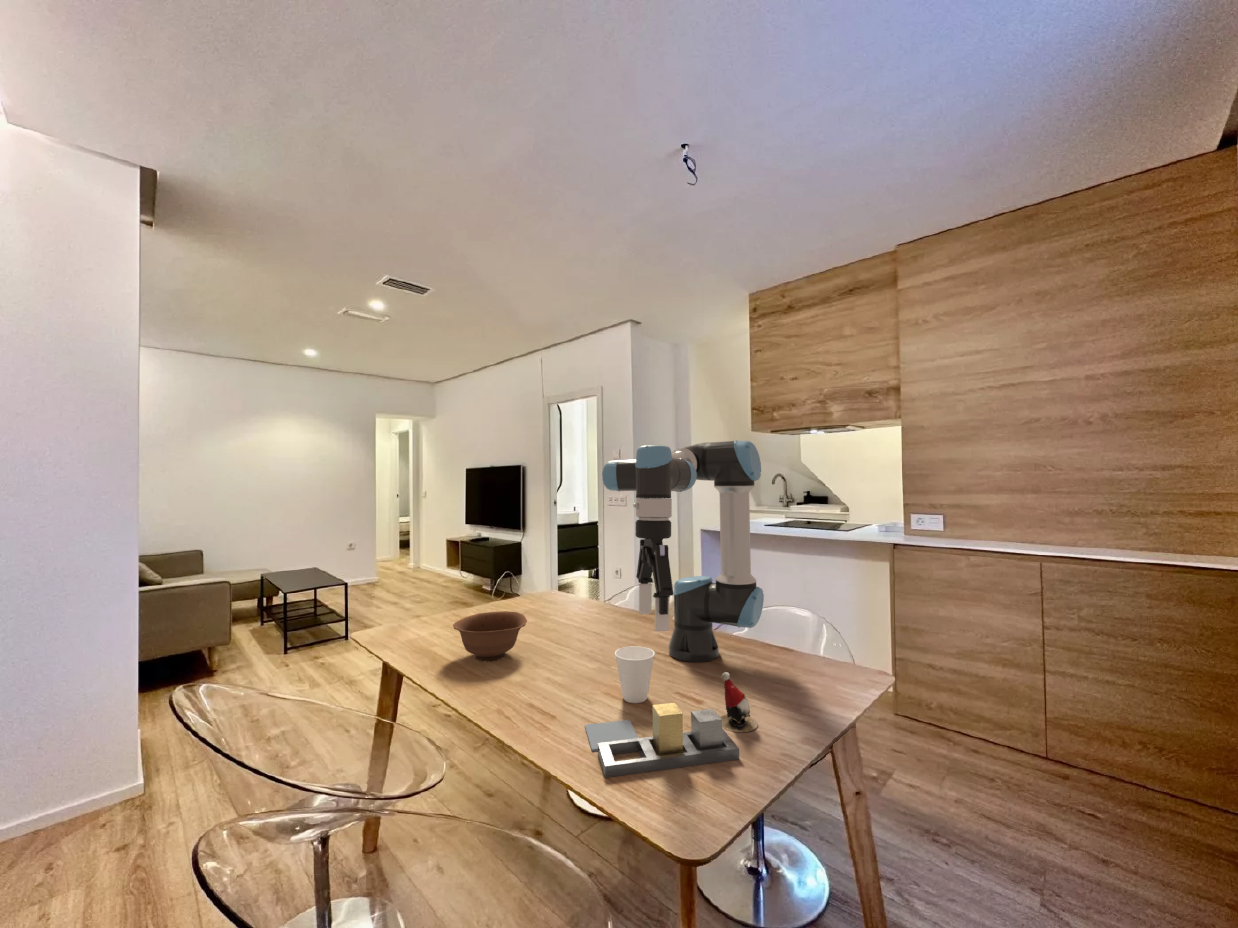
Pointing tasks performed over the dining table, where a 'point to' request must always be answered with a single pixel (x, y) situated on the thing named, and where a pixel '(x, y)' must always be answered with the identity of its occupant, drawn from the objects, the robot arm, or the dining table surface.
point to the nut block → (667, 729)
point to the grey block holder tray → (661, 762)
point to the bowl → (490, 633)
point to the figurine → (736, 708)
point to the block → (706, 729)
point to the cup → (634, 672)
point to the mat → (609, 732)
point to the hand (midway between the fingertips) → (653, 621)
